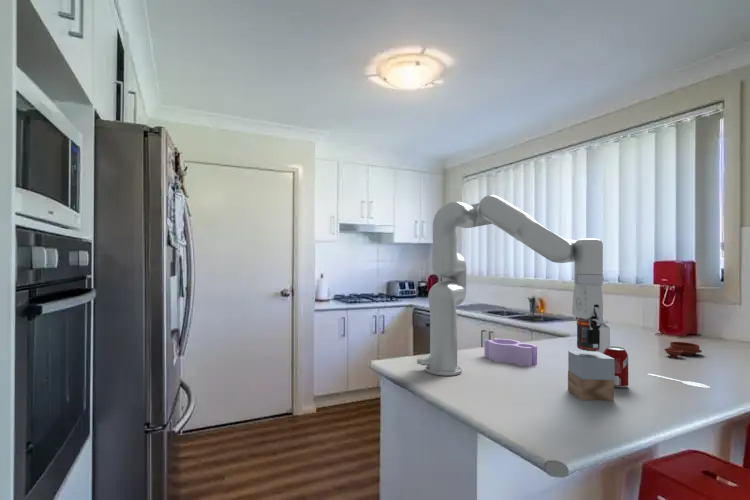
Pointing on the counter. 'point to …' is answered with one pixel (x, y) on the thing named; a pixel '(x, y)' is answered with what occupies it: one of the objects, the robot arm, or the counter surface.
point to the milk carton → (604, 337)
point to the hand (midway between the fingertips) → (588, 340)
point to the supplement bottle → (584, 336)
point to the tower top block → (591, 365)
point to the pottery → (682, 349)
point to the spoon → (684, 381)
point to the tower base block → (591, 388)
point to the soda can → (619, 365)
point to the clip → (511, 351)
